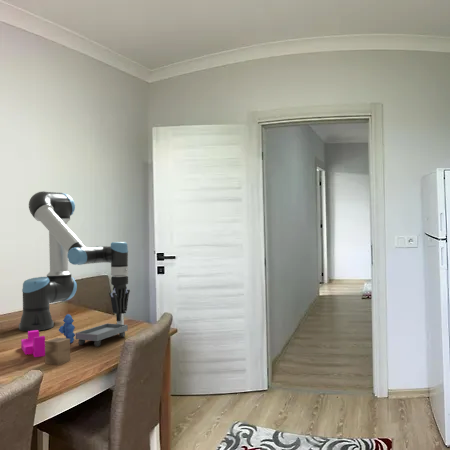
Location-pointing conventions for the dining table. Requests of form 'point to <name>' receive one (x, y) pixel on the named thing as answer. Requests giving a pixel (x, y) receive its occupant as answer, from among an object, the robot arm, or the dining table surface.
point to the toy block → (34, 344)
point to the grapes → (68, 328)
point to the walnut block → (57, 351)
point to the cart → (101, 333)
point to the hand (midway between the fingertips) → (120, 327)
